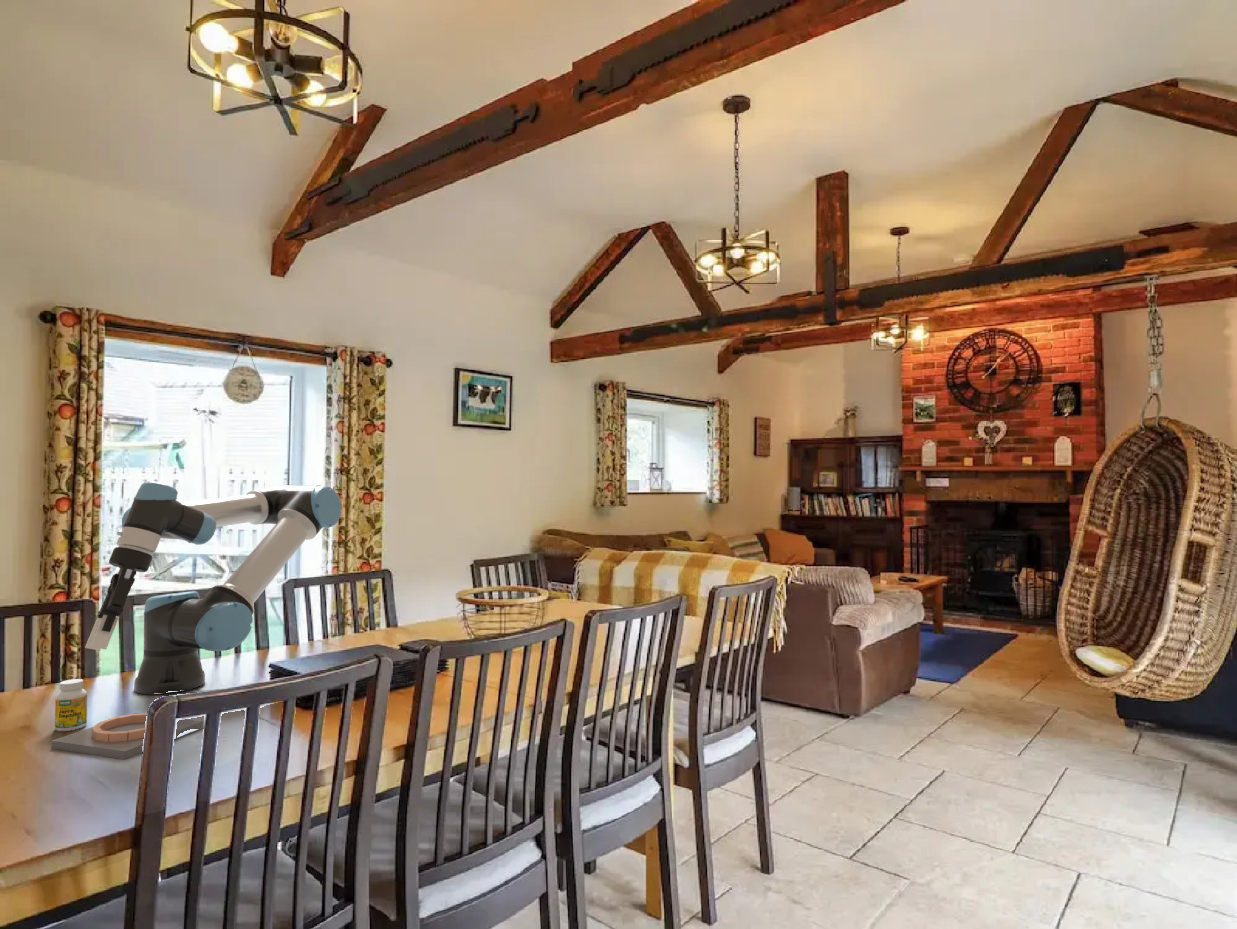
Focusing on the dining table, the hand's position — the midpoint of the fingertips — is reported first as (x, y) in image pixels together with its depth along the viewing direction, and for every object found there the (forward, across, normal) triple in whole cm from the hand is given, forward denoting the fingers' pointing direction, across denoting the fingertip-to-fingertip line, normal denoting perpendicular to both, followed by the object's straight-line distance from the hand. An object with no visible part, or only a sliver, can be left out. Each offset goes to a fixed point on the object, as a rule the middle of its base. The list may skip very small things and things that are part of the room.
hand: (95, 648), depth 155 cm
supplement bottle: (+16, -7, +2) cm, 17 cm away
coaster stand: (+16, +8, +11) cm, 21 cm away
